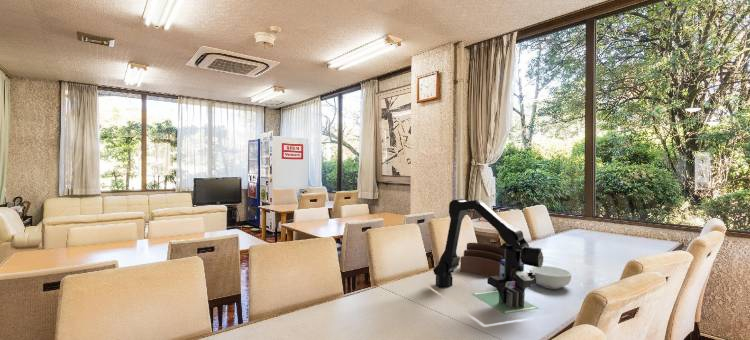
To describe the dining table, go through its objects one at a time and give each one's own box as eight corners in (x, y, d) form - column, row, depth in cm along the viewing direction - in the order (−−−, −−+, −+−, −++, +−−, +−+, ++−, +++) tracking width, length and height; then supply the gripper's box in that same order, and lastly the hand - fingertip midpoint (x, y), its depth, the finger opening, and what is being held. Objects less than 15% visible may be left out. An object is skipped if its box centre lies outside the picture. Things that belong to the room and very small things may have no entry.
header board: (504, 315, 126) (504, 306, 126) (471, 295, 144) (471, 287, 144) (539, 310, 131) (539, 301, 131) (502, 291, 150) (503, 284, 150)
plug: (510, 309, 130) (510, 293, 129) (498, 302, 136) (499, 287, 136) (524, 307, 132) (524, 291, 132) (512, 300, 138) (512, 285, 138)
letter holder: (466, 267, 186) (467, 240, 186) (505, 274, 175) (505, 246, 175) (459, 271, 178) (460, 244, 178) (499, 279, 167) (500, 250, 167)
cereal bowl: (561, 281, 166) (561, 266, 166) (578, 293, 149) (578, 277, 149) (524, 279, 168) (524, 264, 168) (536, 291, 151) (537, 275, 151)
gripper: (507, 270, 123) (506, 314, 123) (548, 265, 129) (547, 307, 129) (487, 261, 133) (485, 301, 133) (525, 257, 139) (524, 296, 140)
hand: (511, 302), depth 134 cm, fingers closed on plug, 6 cm apart
